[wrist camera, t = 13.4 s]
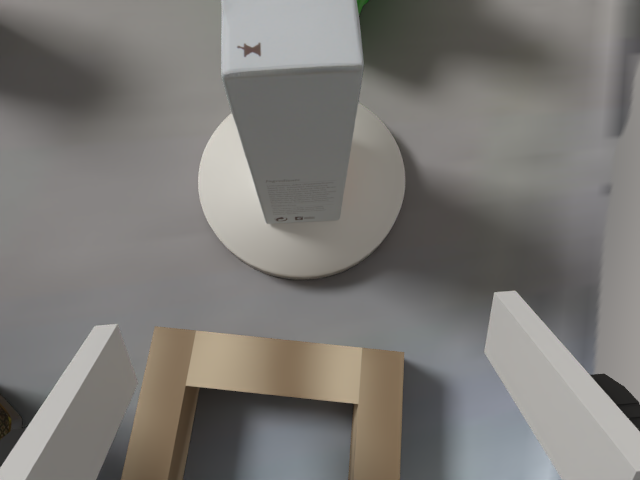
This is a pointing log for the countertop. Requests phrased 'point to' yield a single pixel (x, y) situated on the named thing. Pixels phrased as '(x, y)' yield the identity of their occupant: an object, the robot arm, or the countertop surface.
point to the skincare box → (294, 99)
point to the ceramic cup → (8, 418)
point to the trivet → (304, 237)
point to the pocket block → (264, 378)
